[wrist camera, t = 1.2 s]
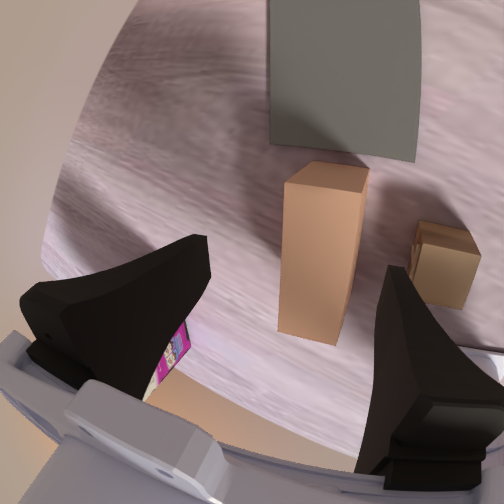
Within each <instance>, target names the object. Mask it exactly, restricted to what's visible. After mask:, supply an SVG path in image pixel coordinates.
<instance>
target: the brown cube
mask: <svg viewBox="0 0 504 504" xmlns="http://www.w3.org/2000/svg"><path fill="white" fill-rule="evenodd" d="M480 259H481V254H480V252H479V250H478V248H477V245H476V243H475V241H474V239H473V237H472V235H471V233H470V231H467V230H462V229H458V228H453V227H449V226H444V225H440V224H435V223H430V222H426V221H421V220H419V223H418V228H417V232H416V237H415V241H414V244H413V245H412V249H411V259H410V263H409V267H408V275H409V277H410V279H411V281H412V283H413V284H414V286H415V288H416V290H417V291H418V293H419V295H420V296H421V298H422V300H423V301H424V302H425V303H430V304H435V305H440V306H445V307H450V308H455V309H460V310H462V308H463V306H464V303H465V301H466V298H467V296H468V293H469V291H470V288H471V285H472V282H473V280H474V277H475V274H476V271H477V268H478V265H479V262H480Z"/></svg>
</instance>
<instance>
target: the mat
mask: <svg viewBox="0 0 504 504" xmlns="http://www.w3.org/2000/svg"><path fill="white" fill-rule="evenodd" d="M420 97H421V20H420V4H419V0H270V144H276V145H288V146H299V147H309V148H318V149H327V150H335V151H343V152H351V153H358V154H365V155H371V156H378V157H384V158H390V159H396V160H401V161H407V162H412V163H415V157H416V148H417V138H418V127H419V114H420Z"/></svg>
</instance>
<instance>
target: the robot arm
mask: <svg viewBox="0 0 504 504" xmlns="http://www.w3.org/2000/svg"><path fill="white" fill-rule="evenodd" d="M210 278H211V270H210V261H209V252H208V243H207V236H204V235H197V234H192V235H189V236H187V237H184V238H182V239H180V240H177V241H175V242H173V243H171V244H169V245H167V246H165V247H162V248H160V249H158V250H156V251H154V252H152V253H149V254H147V255H145V256H143V257H140V258H138V259H136V260H133V261H131V262H128V263H126V264H123V265H120V266H117V267H115V268H112V269H108V270H105V271H101V272H98V273H94V274H90V275H86V276H81V277H76V278H71V279H64V280H56V281H47V282H38V283H36V284H35V285H34V286H33V287H31V288H30V289H29V290H28V291H27V292H26V293H25V294H23V295H22V296H21V298H20V308H21V311H22V313H23V315H24V317H25V319H26V321H27V323H28V325H29V327H30V329H31V330H32V332H33V334H34V336H35V337H36V340H35V341H34V342H33V343H31V341H29V339H27V338H26V337H25V336H23V335H22V334H20V333H19V332H17V331H16V330H13V331H12V333H10V334H9V335H8V336H7V337H6V339H4V340H3V342H1V344H0V392H1V393H2V395H3V396H4V397H5V398H6V399H7V400H8V401H9V402H10V403H11V404H12V405H13V406H14V407H15V408H16V409H17V410H18V411H19V412H21V413H22V414H23V415H24V416H25V417H26V418H27V419H28V420H29V421H31V422H32V423H33V424H34V425H35V426H36V427H37V428H39V429H40V430H41V431H42V432H43V433H45V434H46V435H47V436H48V437H49V438H51V439H52V440H53V441H54V442H56V443H57V444H58V445H59V446H58V448H57V449H56V450H55V452H54V453H53V455H52V456H51V457H50V459H49V460H48V461H47V463H46V464H45V466H44V467H43V468H42V470H41V471H40V473H39V474H38V475H37V477H36V478H35V480H34V481H33V483H32V484H31V486H30V487H29V489H28V490H27V491H26V493H25V494H24V496H23V497H22V498H21V500H20V501H19V503H18V504H504V386H502V385H501V384H500V381H501V379H502V378H503V376H504V353H498V352H491V351H485V350H479V349H473V348H466V347H461V346H457V345H456V344H455V343H454V342H453V341H452V340H451V339H450V337H449V336H448V335H447V334H446V332H445V331H444V330H443V329H442V327H441V326H440V325H439V324H438V322H437V321H436V319H435V318H434V317H433V315H432V314H431V312H430V311H429V309H428V308H427V306H426V305H425V303H424V301H423V300H422V298H421V296H420V295H419V293H418V291H417V290H416V288H415V286H414V284H413V283H412V281H411V279H410V277H409V275H408V274H407V272H406V270H405V269H404V267H398V266H392V265H388V268H387V272H386V276H385V280H384V284H383V287H382V291H381V295H380V298H379V302H378V306H377V312H376V321H375V332H374V380H373V390H372V396H371V402H370V407H369V413H368V418H367V423H366V427H365V432H364V436H363V440H362V444H361V448H360V452H359V456H358V460H357V463H356V467H355V470H354V473H350V472H343V471H337V470H331V469H325V468H319V467H314V466H309V465H304V464H299V463H295V462H290V461H286V460H281V459H277V458H274V457H269V456H266V455H262V454H258V453H255V452H251V451H248V450H244V449H241V448H238V447H234V446H231V445H228V444H225V443H222V442H219V441H216V440H215V439H214V437H213V436H212V435H210V434H209V433H208V432H206V431H205V430H203V429H202V428H200V427H199V426H198V425H196V424H194V423H192V422H189V421H187V420H185V419H183V418H181V417H179V416H177V415H174V414H172V413H169V412H167V411H164V410H162V409H159V408H157V407H154V406H152V405H150V404H148V403H145V402H143V401H142V400H143V398H144V395H145V393H146V390H147V388H148V386H149V383H150V381H151V379H152V376H153V374H154V372H155V370H156V368H157V366H158V364H159V362H160V360H161V358H162V356H163V354H164V352H165V350H166V348H167V346H168V345H169V343H170V341H171V339H172V338H173V336H174V335H175V333H176V332H177V330H178V329H179V327H180V326H181V325H182V323H183V322H184V320H185V319H186V318H187V316H188V315H189V313H190V312H191V311H192V309H193V308H194V306H195V305H196V303H197V302H198V301H199V299H200V298H201V296H202V294H203V292H204V291H205V289H206V287H207V285H208V283H209V280H210Z"/></svg>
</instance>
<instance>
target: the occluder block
mask: <svg viewBox="0 0 504 504" xmlns="http://www.w3.org/2000/svg"><path fill="white" fill-rule="evenodd" d="M369 170H370V168H363V167H357V166H350V165H343V164H335V163H328V162H320V161H312V162H310V163H309V164H308V165H306V166H305V167H304V168H302V169H301V170H300V171H298V172H297V173H296V174H294V175H293V176H292V177H290V178H289V179H288V180H287V181H285V182H284V206H283V232H282V255H281V276H280V295H279V313H278V330H277V332H281V333H285V334H289V335H293V336H297V337H301V338H305V339H309V340H313V341H317V342H321V343H325V344H330V345H334V346H336V343H337V340H338V337H339V334H340V330H341V327H342V324H343V320H344V317H345V314H346V310H347V307H348V303H349V299H350V296H351V292H352V286H353V281H354V276H355V270H356V265H357V259H358V253H359V247H360V240H361V234H362V227H363V220H364V212H365V205H366V197H367V188H368V179H369Z"/></svg>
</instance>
